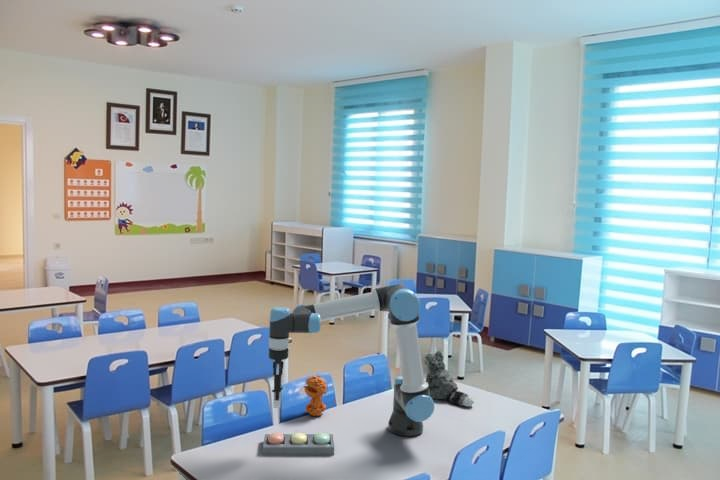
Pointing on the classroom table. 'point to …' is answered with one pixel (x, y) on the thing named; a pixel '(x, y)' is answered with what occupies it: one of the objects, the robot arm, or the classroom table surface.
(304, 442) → the yellow button
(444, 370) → the raccoon plush
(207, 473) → the classroom table surface
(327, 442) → the green button
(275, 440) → the coral button
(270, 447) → the button panel
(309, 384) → the toy dinosaur
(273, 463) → the classroom table surface
